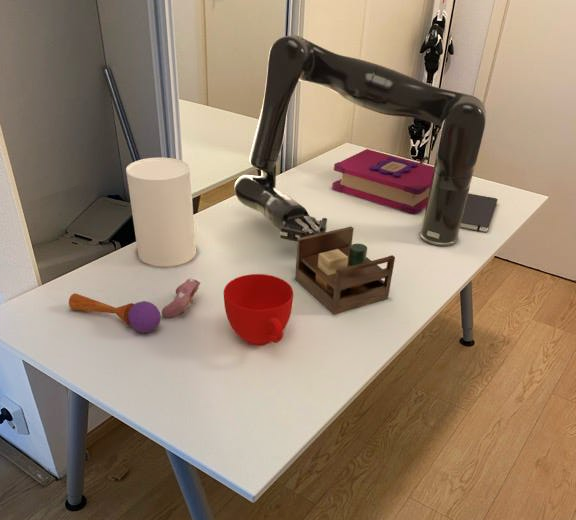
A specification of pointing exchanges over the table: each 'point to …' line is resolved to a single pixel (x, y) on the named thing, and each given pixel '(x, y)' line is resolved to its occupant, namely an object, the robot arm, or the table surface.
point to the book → (385, 180)
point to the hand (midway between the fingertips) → (323, 243)
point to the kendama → (122, 312)
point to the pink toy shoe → (181, 298)
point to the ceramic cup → (258, 307)
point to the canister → (162, 210)
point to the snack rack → (341, 271)
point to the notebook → (478, 212)
